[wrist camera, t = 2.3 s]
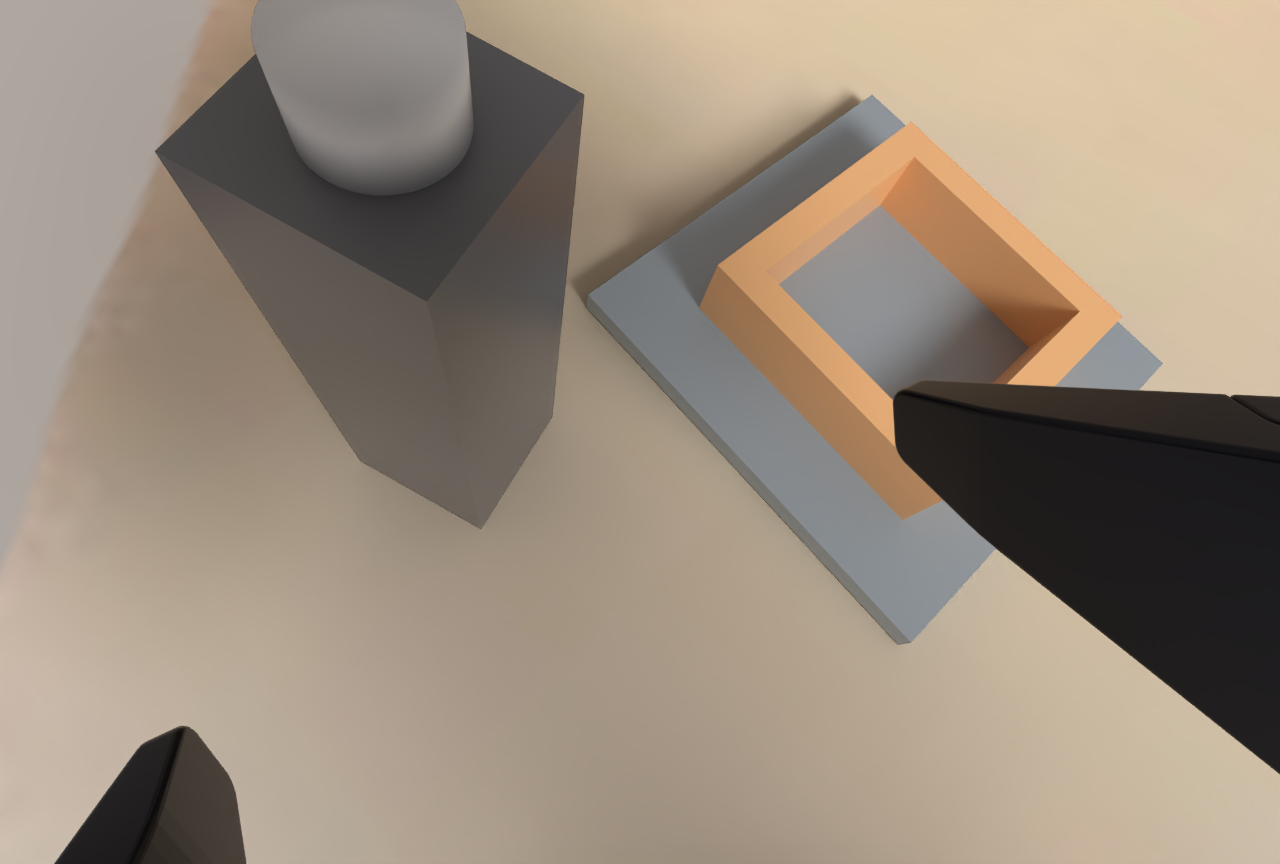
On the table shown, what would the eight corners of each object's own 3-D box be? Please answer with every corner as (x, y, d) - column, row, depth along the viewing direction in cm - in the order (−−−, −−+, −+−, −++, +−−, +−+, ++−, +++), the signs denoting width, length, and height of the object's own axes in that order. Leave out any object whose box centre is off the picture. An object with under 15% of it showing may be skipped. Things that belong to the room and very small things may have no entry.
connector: (481, 529, 22) (410, 231, 8) (360, 460, 22) (91, 57, 8) (552, 416, 23) (593, 5, 10) (438, 353, 23) (321, -140, 10)
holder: (898, 644, 22) (958, 634, 19) (585, 307, 24) (595, 249, 21) (1144, 373, 27) (1225, 329, 24) (863, 110, 29) (903, 39, 26)
